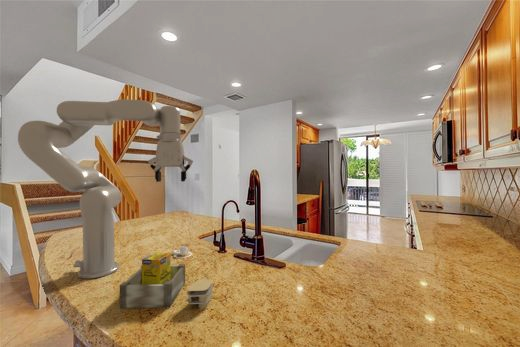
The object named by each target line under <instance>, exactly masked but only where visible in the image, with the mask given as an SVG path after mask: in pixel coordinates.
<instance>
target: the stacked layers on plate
mask: <svg viewBox="0 0 520 347" xmlns="http://www.w3.org/2000/svg"><path fill="white" fill-rule="evenodd" d="M213 281H214V280H213V279H207V278H200V279H198V280H197V281H195V282H193V283H191V284H190V285H188V286H187V287H186V289H187V290H188V291H186V295H187V296H188V297H187V300H186V301H187V304H188V305H198V309H199V310H200V309H202V310H204V309H206V308H208V307H209V302H210V301H211V299H212V298H213V294H214V291H213V290H212V289H213V287H214V284H213Z"/></svg>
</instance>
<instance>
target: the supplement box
mask: <svg viewBox="0 0 520 347" xmlns="http://www.w3.org/2000/svg"><path fill="white" fill-rule="evenodd" d="M170 265H171V253H170V252H155V251H154V252H152V253H151V254H149V255H147V256H146V257H143V258H141V266H142V285H150V284H164V283H165V282H166V281H171V267H170Z"/></svg>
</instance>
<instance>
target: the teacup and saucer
mask: <svg viewBox="0 0 520 347" xmlns="http://www.w3.org/2000/svg"><path fill="white" fill-rule="evenodd" d="M172 254H173V257H174V258H176V259H185V258H186V259H187V258H189V257H191V256H192V255H193V254H194V253H193V252H191V251H189V249H188V246H187V245H180V246H179V249H175V250H173V251H172ZM187 254H189V255H187ZM179 255H181V256H179Z"/></svg>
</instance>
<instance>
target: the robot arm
mask: <svg viewBox="0 0 520 347" xmlns="http://www.w3.org/2000/svg"><path fill="white" fill-rule="evenodd" d="M56 114H57V117H58V118H59V119H60V120H61V122H60V123H59V124H55V123H52V122H50V121H49V122H48V121H44V120H29V121H27V122H24V124H22V125H21V127H20V128H19V130H18V132H17V142H18V145H19V148H20V150H21V151H22V153H23V154H24V155H25V156H26V157H27V158H28V159H29V160H30V161H31V162H32V163H34V164H35V165H36V166H37V167H39V168H40V169H41V170H42V171H44V173H45V174H47V175H48V176H49V177H50V178H51V179H53V180H54V181H55V182H56V183H57V184H58V185H59V186H60V187H61V188H63V189H64V190H65V191H68V192H72V193H78V192H83V193H82V194H81V196H80V199H79V209H80V214H81V221H82V259H76V261H75V262H74V263H73V268H79V271H78V272H77V277H78V278H80V279H95V278H96V279H97V278H100V277H102V278H103V277H105V276H108V275H111V274H112V273H114V272H116V271H118V270H119V268H120V263H119V262H117V261H115V218H114V215H113V208H115V207H117V206H118V205H119V204H120V203H121V202H122V197H123V196H122V192H121V191H120V188H118V187H117V186H116V185H115V184H114V183H113V182H111V181H110V180H109V179H108V178H107V177H106V176H105V175H104V174H102V173H101V172H100V171H98V169H95V168H93V167H89V166H83V165H82V166H81V165H79V164H78V163H76V161H74V160H73V159H71V157H69V155H67V154H66V153H64V152H63V151H62V150H61V149H62V148H64V149H65V148H68V147H69V146H71V145H73V144H74V143H75V142H76V141H78V140H79V139H80V138H82V137H83V136H84V135H85V134H86V133H88V132H89V131H90V130H91V129H93V127H94V126H112V125H114V124H115V123H117V122H121V121H132V122H133V121H134V122H136V121H137V122H141V123H143V124H144V125H146V126H148V127H160V128H159V129H160V130H159V131H160V132H159V135H157V136H156V139H157V140H159V141H157V144H156V150H155V152H156V153H155V156H154V157H152V158H151V159H148V161H147V162H148V164H149V166H150V168H151V169H152V170H153V171H154V177H155V182H156V183H158V182H162V171H161V170H162V168H165V167H166V168H167V167H168V168H169V167H170V168H175V167H178V168H180V169H181V171H180V181H181V182H185V181H186V180H187V172H188V170H189V169H190V168H191V167H192V164H193V163H194V161H193V160H192V159H191V158H189V157H188V156H185V150H184V144H183V142H182V141H181V139H182V138H181V136H182V135H181V111H180V109H179V108H178V107H176V106H174V105H173V106H172V105H163V106H161V107H160V108H158V107H156V106H155V105H154V104H153V103H152V102H151V101H149V100H144V99H143V100H142V99H131V98H130V99H128V98H125V99H122V98H121V99H116V100H111V101H87V100H85V101H83V100H65V101H61V102H60V103H59V104H58V105H57V106H56ZM186 162H187V164H186V165H185V163H186Z"/></svg>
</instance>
